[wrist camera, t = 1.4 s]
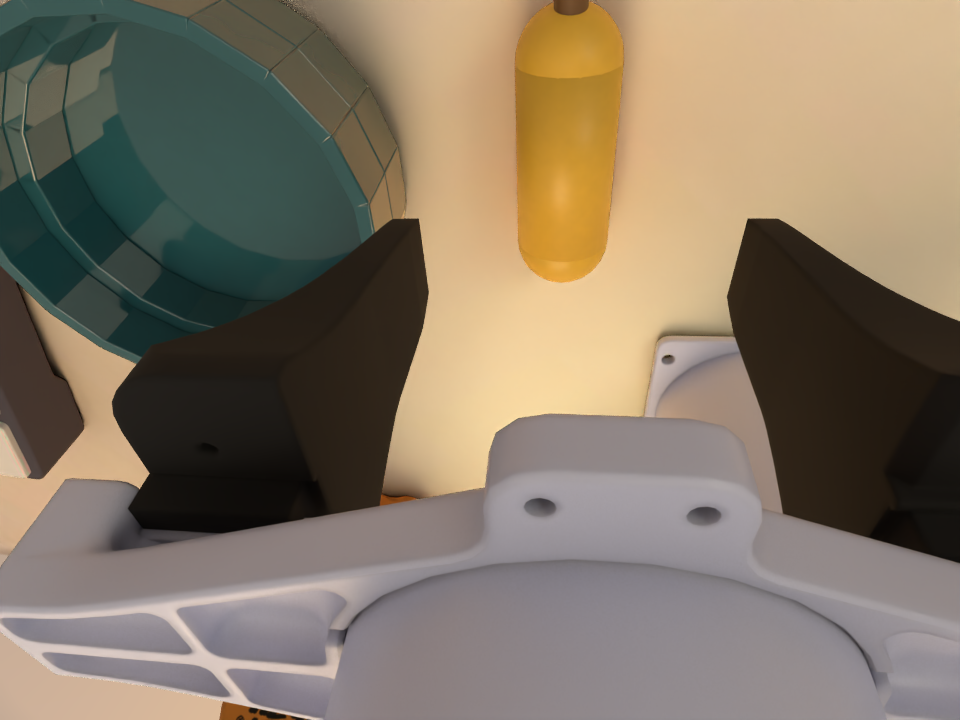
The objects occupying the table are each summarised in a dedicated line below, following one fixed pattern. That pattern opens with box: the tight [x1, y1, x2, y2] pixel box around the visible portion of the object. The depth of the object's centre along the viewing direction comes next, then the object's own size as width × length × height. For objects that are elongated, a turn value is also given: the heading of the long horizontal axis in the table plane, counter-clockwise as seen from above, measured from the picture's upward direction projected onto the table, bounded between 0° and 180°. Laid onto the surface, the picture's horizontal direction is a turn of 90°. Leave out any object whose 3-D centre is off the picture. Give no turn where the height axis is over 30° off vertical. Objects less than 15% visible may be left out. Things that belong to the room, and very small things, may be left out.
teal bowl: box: [0, 0, 406, 364], centre depth 20 cm, size 13×13×4 cm
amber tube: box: [515, 0, 624, 283], centre depth 18 cm, size 10×3×3 cm, turn 3°
